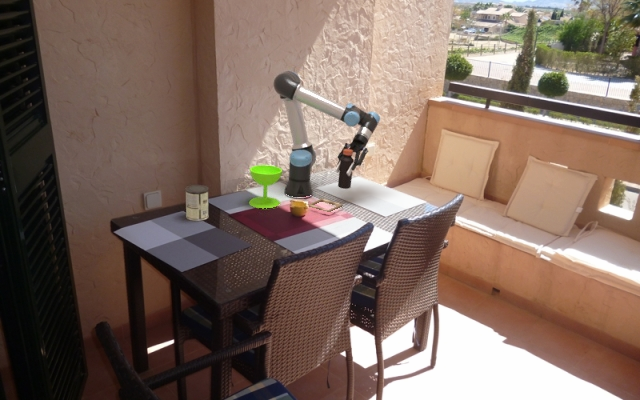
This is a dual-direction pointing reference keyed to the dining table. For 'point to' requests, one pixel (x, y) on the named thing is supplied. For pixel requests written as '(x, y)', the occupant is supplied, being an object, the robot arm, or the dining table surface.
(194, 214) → the coffee can
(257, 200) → the wineglass
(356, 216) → the dining table surface
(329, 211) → the tray
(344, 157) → the vinegar
